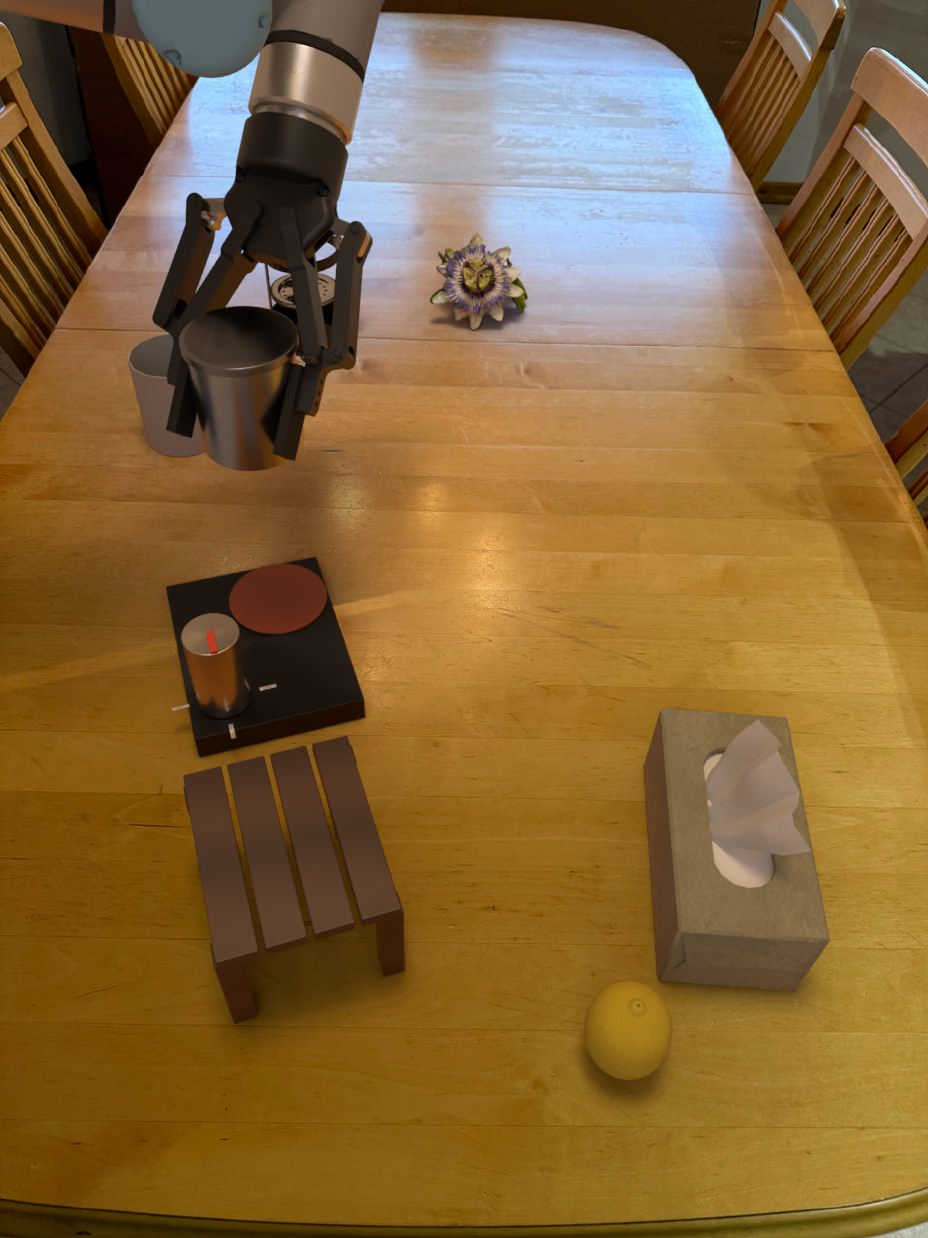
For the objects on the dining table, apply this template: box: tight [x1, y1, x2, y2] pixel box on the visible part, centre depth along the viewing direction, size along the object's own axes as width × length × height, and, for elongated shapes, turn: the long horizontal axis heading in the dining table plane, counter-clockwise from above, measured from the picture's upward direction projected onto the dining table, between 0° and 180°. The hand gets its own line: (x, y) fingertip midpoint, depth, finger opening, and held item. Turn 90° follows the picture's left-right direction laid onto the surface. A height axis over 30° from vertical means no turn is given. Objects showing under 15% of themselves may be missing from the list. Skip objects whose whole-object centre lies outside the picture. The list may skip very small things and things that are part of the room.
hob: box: [165, 556, 366, 758], centre depth 87 cm, size 19×15×3 cm
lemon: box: [583, 980, 673, 1081], centre depth 63 cm, size 6×6×8 cm
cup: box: [127, 333, 206, 458], centre depth 106 cm, size 8×8×10 cm
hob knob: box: [181, 613, 252, 719], centre depth 79 cm, size 4×4×8 cm
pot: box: [179, 305, 305, 472], centre depth 72 cm, size 8×8×9 cm
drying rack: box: [182, 735, 406, 1024], centre depth 69 cm, size 14×12×10 cm
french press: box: [263, 235, 338, 357], centre depth 116 cm, size 12×9×23 cm
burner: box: [229, 563, 328, 635], centre depth 90 cm, size 9×9×1 cm
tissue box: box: [643, 707, 831, 992], centre depth 70 cm, size 19×10×16 cm, turn 176°
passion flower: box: [429, 232, 529, 331], centre depth 127 cm, size 11×11×12 cm
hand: (231, 445), depth 72 cm, fingers closed on pot, 8 cm apart
